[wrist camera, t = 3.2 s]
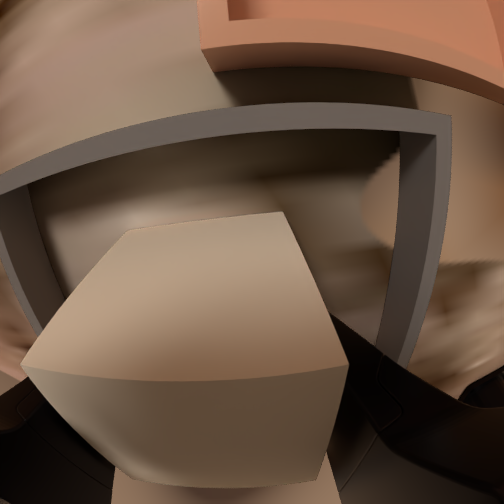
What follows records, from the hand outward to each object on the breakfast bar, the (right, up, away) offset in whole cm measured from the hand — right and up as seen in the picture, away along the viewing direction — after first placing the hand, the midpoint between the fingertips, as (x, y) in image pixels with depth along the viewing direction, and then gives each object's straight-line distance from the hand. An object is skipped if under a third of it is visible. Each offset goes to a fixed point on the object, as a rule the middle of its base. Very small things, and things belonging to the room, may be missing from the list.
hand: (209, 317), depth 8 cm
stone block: (0, +1, +1) cm, 2 cm away
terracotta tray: (+6, +13, -4) cm, 15 cm away
